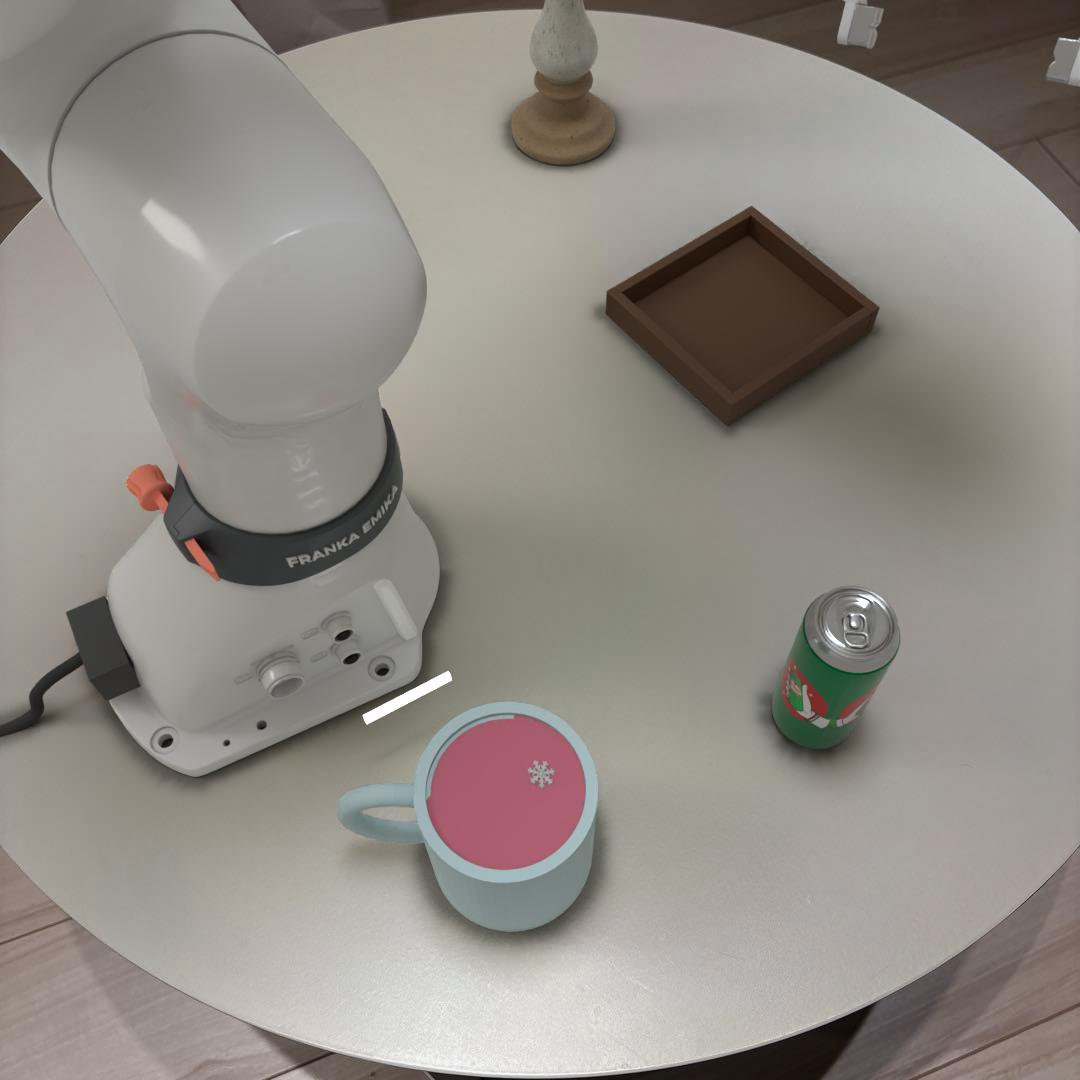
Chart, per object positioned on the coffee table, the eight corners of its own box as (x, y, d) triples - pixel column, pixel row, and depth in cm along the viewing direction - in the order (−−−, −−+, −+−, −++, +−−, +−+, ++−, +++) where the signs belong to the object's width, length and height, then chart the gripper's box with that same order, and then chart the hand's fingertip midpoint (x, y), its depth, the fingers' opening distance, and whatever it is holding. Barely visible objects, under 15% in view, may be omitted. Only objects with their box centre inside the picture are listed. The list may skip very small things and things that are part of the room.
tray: (727, 426, 80) (731, 405, 78) (605, 313, 86) (606, 290, 84) (872, 329, 85) (880, 307, 83) (747, 228, 91) (751, 205, 89)
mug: (593, 772, 67) (599, 704, 59) (591, 934, 62) (597, 886, 54) (362, 765, 68) (334, 696, 59) (342, 925, 63) (309, 876, 54)
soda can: (852, 678, 70) (902, 582, 60) (856, 756, 68) (909, 670, 57) (769, 671, 71) (805, 575, 60) (770, 748, 68) (807, 661, 58)
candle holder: (509, 165, 95) (498, -74, 78) (514, 97, 100) (505, -144, 82) (614, 167, 95) (627, -73, 77) (615, 98, 99) (627, -143, 82)
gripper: (794, -341, 47) (720, 24, 53) (1355, -308, 40) (1194, 109, 46) (831, -300, 52) (760, 28, 58) (1333, -264, 45) (1191, 105, 51)
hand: (955, 64), depth 52 cm, fingers open, 8 cm apart
